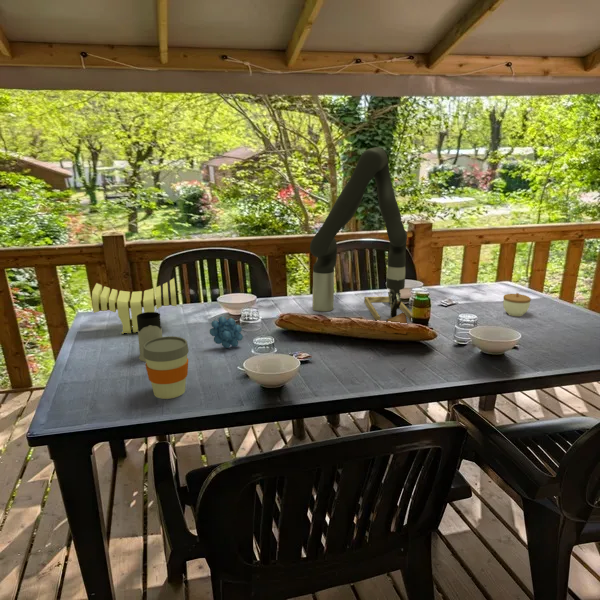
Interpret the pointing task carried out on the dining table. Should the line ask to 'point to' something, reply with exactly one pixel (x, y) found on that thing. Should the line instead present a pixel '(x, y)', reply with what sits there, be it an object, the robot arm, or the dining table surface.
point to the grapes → (226, 332)
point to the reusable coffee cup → (167, 365)
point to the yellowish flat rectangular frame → (383, 299)
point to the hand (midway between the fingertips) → (393, 316)
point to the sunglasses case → (399, 318)
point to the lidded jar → (516, 304)
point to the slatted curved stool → (131, 302)
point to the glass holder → (148, 329)
